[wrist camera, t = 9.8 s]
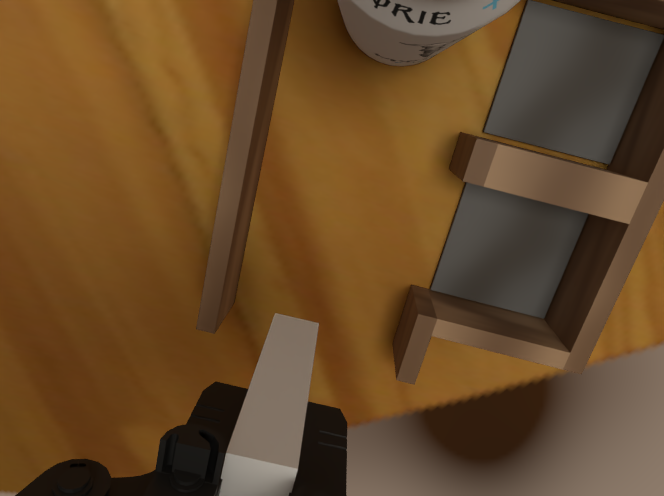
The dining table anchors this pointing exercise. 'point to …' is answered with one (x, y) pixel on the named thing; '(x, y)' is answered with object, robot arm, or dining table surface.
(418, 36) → the energy drink can
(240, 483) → the robot arm
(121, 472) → the dining table surface
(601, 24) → the trap lane
